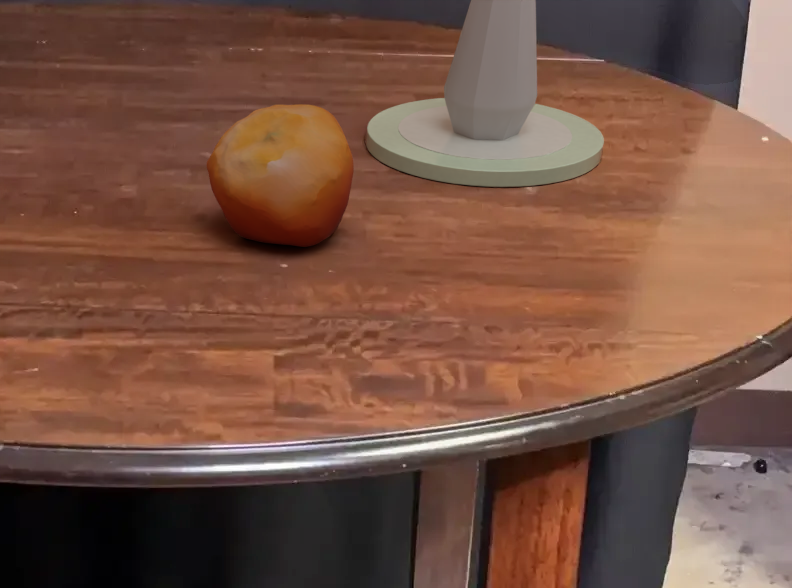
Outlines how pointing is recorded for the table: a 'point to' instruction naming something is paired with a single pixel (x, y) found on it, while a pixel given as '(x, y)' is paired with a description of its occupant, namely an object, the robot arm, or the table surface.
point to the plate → (484, 147)
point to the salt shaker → (493, 70)
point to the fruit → (283, 175)
